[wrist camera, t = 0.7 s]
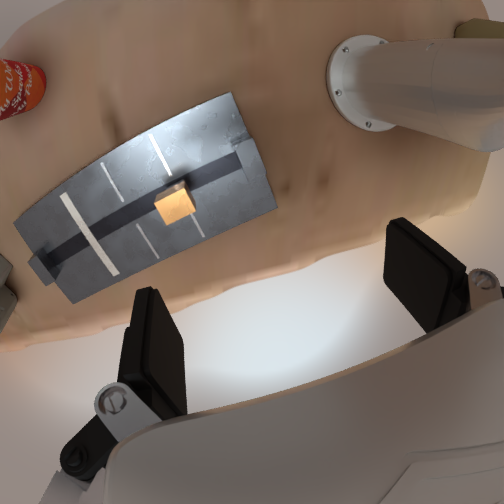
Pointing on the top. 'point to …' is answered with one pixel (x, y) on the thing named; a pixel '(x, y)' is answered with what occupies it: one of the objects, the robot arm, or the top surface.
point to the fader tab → (175, 202)
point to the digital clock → (5, 294)
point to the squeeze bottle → (480, 29)
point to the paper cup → (19, 87)
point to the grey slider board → (147, 200)
